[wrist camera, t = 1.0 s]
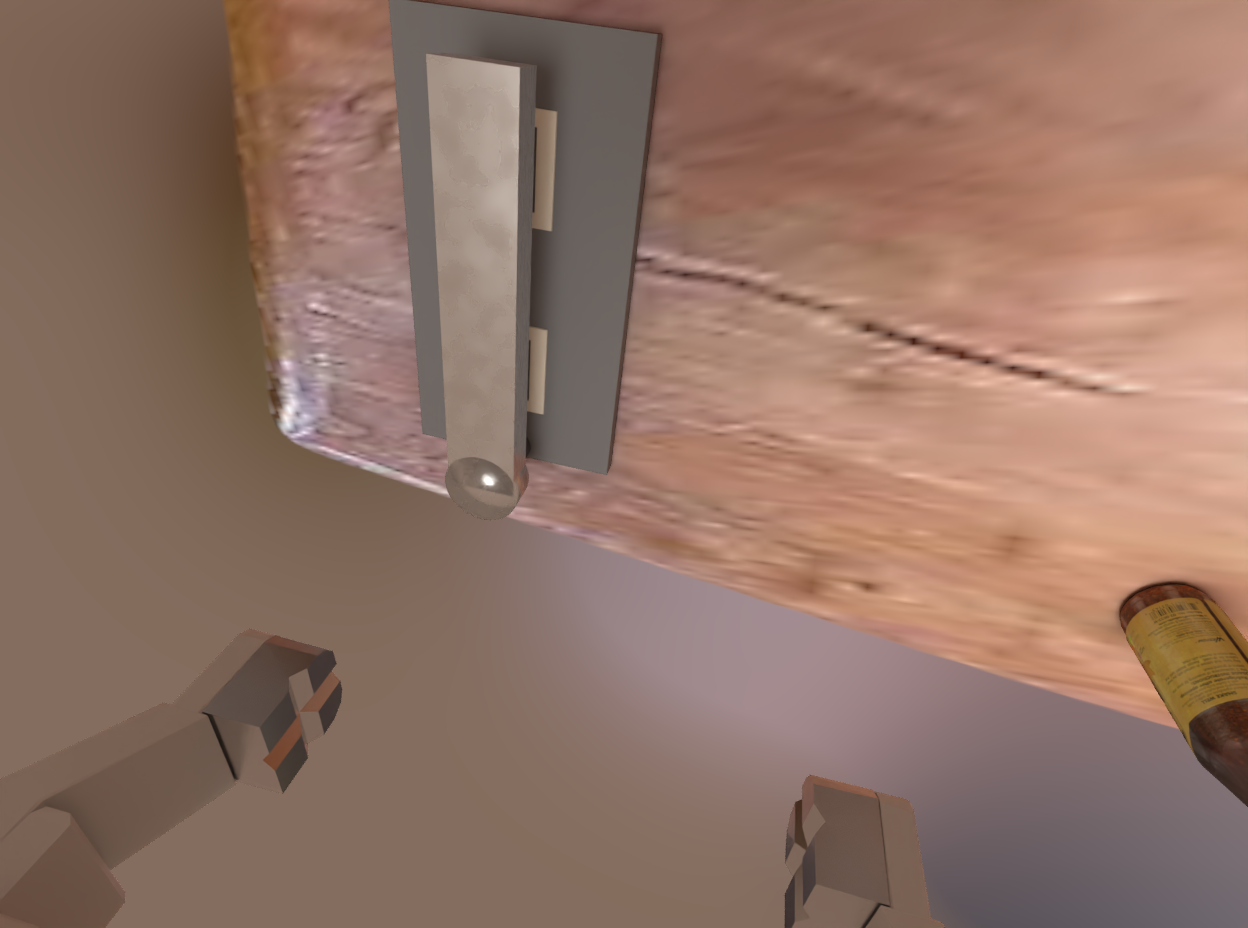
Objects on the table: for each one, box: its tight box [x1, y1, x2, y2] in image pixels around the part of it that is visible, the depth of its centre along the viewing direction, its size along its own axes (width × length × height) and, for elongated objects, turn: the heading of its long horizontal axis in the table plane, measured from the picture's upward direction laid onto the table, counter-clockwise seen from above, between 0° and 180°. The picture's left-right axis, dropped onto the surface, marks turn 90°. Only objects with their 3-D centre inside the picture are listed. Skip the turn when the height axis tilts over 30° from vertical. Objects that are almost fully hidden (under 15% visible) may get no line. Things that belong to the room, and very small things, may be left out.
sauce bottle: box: [1120, 584, 1248, 807], centre depth 42 cm, size 7×6×20 cm
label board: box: [389, 0, 662, 475], centre depth 45 cm, size 30×16×5 cm, turn 173°
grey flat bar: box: [426, 53, 537, 520], centre depth 42 cm, size 30×6×2 cm, turn 173°
